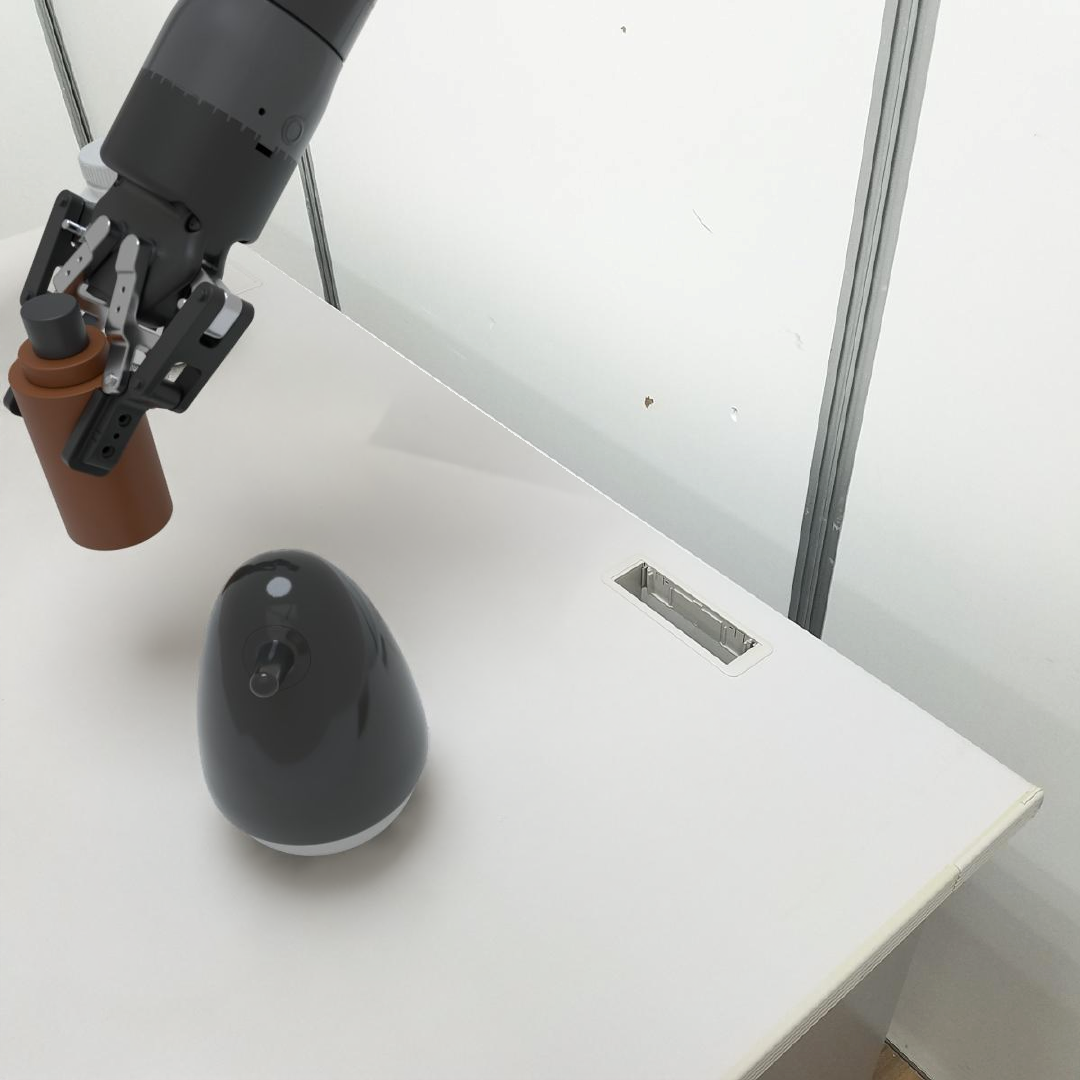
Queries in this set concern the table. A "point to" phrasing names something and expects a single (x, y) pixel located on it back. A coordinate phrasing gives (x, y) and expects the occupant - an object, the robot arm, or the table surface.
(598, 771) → the table surface
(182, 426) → the table surface
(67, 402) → the amber bottle
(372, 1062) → the table surface
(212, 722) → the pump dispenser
